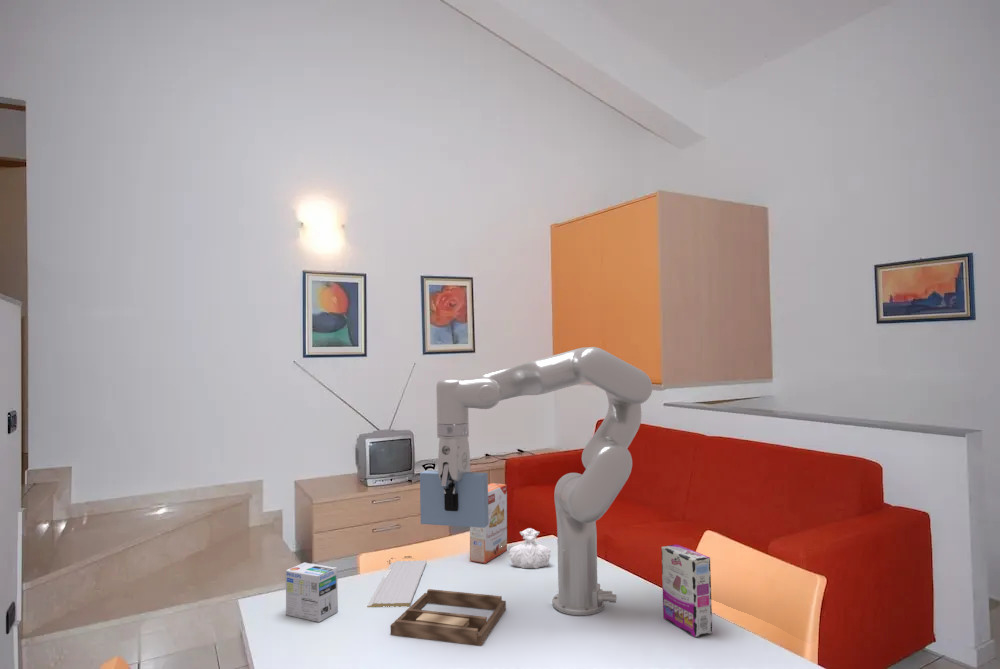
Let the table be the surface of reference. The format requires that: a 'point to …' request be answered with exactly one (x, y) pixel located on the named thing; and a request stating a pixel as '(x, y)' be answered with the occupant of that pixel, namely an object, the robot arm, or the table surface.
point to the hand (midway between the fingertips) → (454, 507)
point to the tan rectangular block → (443, 620)
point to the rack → (448, 633)
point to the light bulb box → (311, 591)
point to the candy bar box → (687, 590)
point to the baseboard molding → (398, 584)
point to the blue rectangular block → (469, 500)
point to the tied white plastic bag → (529, 552)
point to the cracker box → (491, 527)
